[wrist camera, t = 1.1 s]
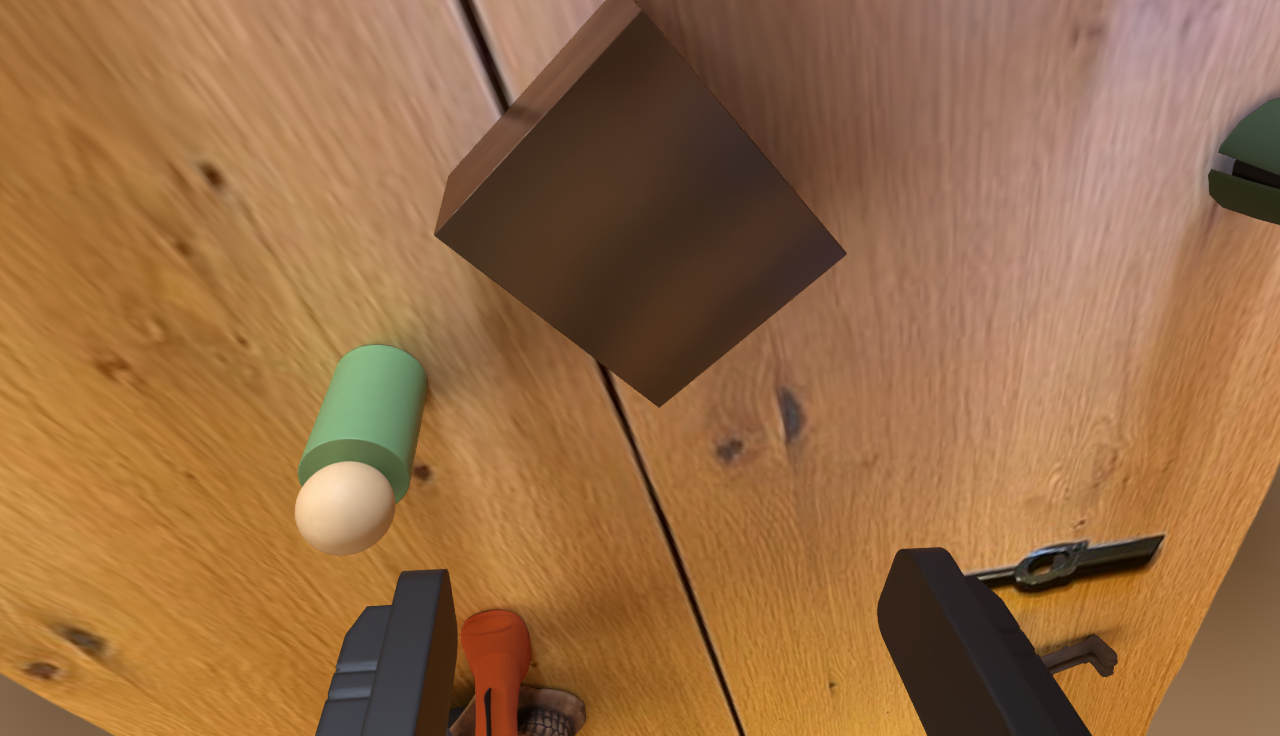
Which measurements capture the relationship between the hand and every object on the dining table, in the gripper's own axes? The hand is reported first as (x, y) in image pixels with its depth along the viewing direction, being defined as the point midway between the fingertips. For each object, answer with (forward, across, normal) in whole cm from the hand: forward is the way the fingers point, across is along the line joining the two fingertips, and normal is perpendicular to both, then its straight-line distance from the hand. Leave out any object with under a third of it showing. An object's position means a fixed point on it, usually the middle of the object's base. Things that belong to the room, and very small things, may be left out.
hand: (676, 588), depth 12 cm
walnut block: (+24, -1, 0) cm, 24 cm away
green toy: (+24, +12, +11) cm, 29 cm away
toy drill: (+25, +8, +32) cm, 41 cm away
